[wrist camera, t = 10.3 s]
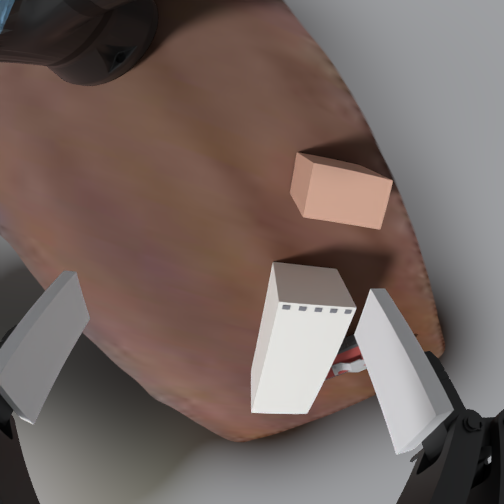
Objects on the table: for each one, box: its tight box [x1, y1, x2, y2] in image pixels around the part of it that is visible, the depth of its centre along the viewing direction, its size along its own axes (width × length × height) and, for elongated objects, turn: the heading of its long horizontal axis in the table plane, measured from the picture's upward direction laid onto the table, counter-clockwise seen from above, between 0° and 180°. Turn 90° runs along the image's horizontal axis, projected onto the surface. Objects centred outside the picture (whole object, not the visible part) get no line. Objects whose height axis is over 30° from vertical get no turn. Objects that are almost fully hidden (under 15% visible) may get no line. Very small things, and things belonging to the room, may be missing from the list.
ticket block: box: [251, 262, 357, 414], centre depth 38 cm, size 22×9×9 cm, turn 172°
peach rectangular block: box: [290, 152, 393, 229], centre depth 28 cm, size 5×8×9 cm, turn 82°
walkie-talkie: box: [325, 334, 367, 380], centre depth 44 cm, size 9×4×20 cm
